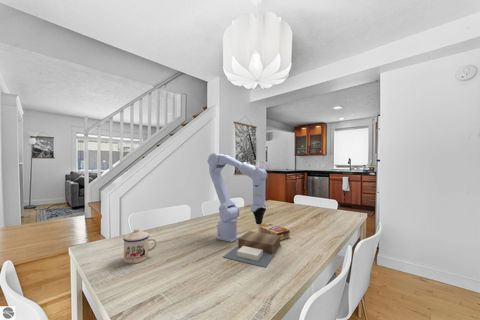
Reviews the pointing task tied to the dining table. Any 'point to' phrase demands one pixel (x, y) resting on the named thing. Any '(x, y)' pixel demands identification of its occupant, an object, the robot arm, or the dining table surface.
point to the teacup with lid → (137, 246)
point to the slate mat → (261, 262)
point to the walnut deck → (260, 241)
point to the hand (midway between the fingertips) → (258, 224)
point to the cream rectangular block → (250, 253)
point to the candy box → (274, 230)
